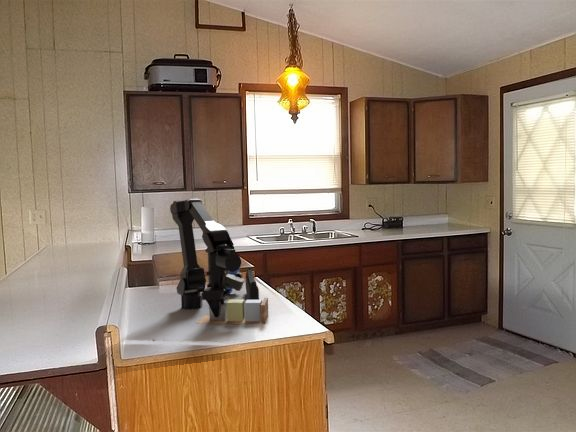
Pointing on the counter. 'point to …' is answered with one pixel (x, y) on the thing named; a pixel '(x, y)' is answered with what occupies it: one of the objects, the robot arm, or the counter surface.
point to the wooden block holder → (264, 315)
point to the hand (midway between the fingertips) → (218, 314)
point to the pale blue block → (253, 310)
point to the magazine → (251, 286)
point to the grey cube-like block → (222, 313)
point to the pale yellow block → (235, 310)
